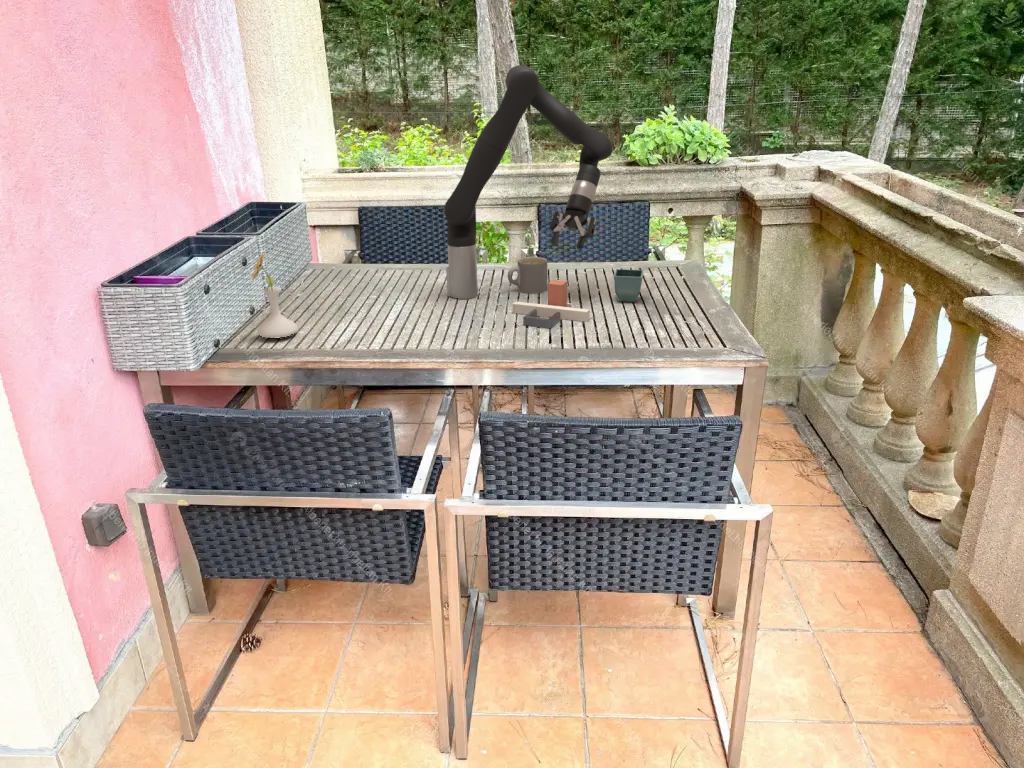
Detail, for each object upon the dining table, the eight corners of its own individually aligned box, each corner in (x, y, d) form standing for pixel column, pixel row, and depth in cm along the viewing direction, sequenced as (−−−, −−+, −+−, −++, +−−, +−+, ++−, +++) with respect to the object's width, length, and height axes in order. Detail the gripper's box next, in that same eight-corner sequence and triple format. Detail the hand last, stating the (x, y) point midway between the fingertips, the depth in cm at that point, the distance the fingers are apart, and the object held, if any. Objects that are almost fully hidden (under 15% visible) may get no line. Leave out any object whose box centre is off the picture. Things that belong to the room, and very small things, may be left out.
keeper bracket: (523, 325, 227) (523, 317, 226) (533, 317, 233) (533, 309, 232) (550, 328, 223) (550, 320, 222) (560, 320, 230) (560, 312, 229)
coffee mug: (546, 285, 266) (546, 256, 262) (548, 293, 257) (548, 263, 253) (507, 286, 266) (506, 257, 262) (508, 294, 257) (507, 264, 253)
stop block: (548, 312, 238) (548, 283, 235) (553, 307, 242) (553, 279, 238) (561, 313, 236) (561, 285, 233) (566, 309, 240) (567, 281, 237)
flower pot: (640, 304, 243) (642, 276, 240) (612, 303, 245) (613, 275, 241) (642, 296, 251) (643, 269, 248) (615, 295, 253) (615, 268, 249)
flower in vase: (265, 329, 228) (252, 245, 218) (303, 329, 227) (292, 245, 218) (250, 344, 216) (236, 256, 206) (290, 344, 215) (278, 256, 206)
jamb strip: (512, 313, 238) (512, 303, 236) (527, 303, 247) (526, 293, 246) (586, 321, 228) (586, 312, 227) (598, 311, 238) (598, 301, 237)
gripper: (557, 190, 241) (541, 238, 240) (598, 195, 235) (582, 245, 233) (565, 200, 248) (550, 247, 246) (606, 206, 241) (590, 254, 240)
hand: (566, 246), depth 240 cm, fingers open, 8 cm apart
